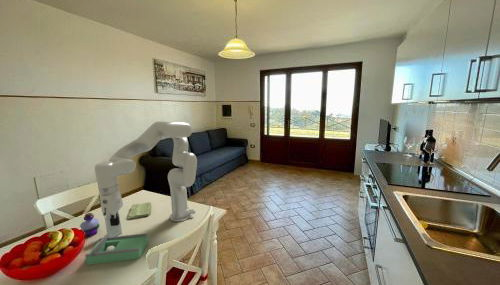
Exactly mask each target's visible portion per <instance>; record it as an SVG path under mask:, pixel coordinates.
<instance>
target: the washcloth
mask: <svg viewBox="0 0 500 285" xmlns="http://www.w3.org/2000/svg"><path fill="white" fill-rule="evenodd" d="M151 203H152V202H149V201H148V202H142V203H133V204H132V205H131V207H130V211H129V213H128V217H127V219H128V220H132V219H137V218H143V217H146V216H151V213H152V204H151Z"/></svg>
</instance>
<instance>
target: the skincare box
mask: <svg viewBox="0 0 500 285" xmlns="http://www.w3.org/2000/svg"><path fill="white" fill-rule="evenodd" d="M118 216H119V222H120V223H119V225H117V226H111V224H110V219H106V216H103V217H104V221H105V229H106V235H108V237H115V236H120V235H121V234H123V232H122V230H123V229H122V223H121V216H120V214H119V215H118Z"/></svg>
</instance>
